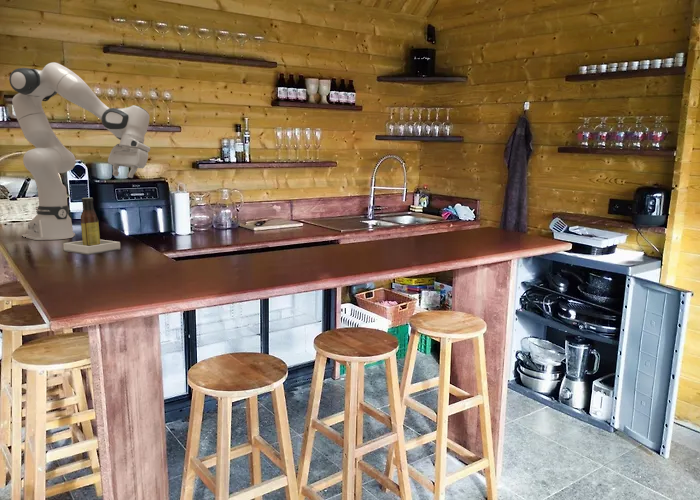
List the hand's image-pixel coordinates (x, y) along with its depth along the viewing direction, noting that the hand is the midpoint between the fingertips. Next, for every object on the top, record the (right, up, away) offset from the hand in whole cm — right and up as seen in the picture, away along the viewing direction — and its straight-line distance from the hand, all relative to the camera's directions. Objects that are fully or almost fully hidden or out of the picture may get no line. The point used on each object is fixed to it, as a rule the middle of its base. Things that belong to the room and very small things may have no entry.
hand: (122, 176), depth 239 cm
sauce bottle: (-7, -30, -13) cm, 33 cm away
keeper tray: (-6, -30, -13) cm, 34 cm away
